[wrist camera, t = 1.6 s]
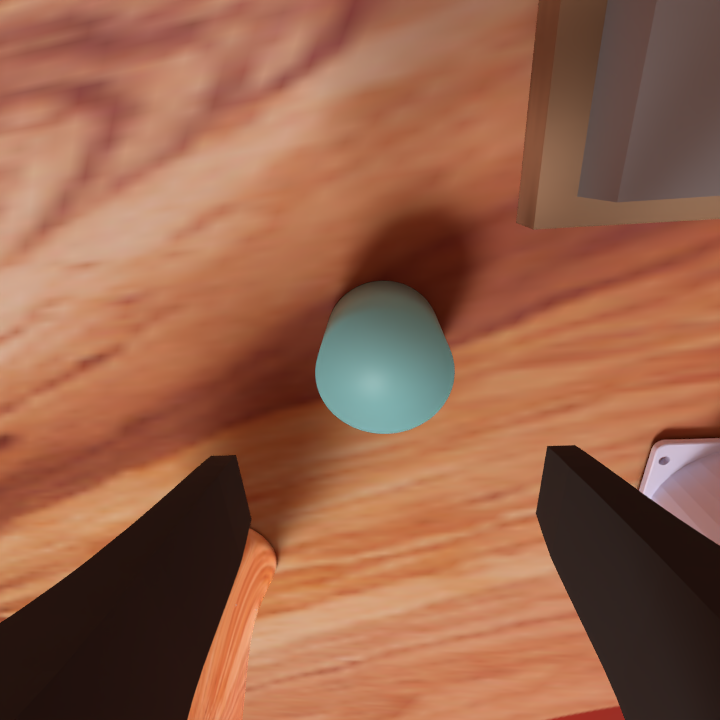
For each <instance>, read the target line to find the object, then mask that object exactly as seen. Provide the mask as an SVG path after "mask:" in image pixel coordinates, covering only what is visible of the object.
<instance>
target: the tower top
mask: <svg viewBox="0 0 720 720" xmlns="http://www.w3.org/2000/svg"><path fill="white" fill-rule="evenodd" d="M709 196H720V0H608V1H607V8H606V14H605V21H604V27H603V33H602V40H601V46H600V53H599V59H598V65H597V72H596V78H595V84H594V91H593V97H592V104H591V110H590V116H589V123H588V129H587V136H586V142H585V149H584V155H583V162H582V168H581V175H580V181H579V188H578V195H577V197H584V198H591V199H597V200H604V201H611V202H632V201H647V200H663V199H678V198H694V197H709Z"/></svg>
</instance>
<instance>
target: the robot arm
mask: <svg viewBox="0 0 720 720" xmlns="http://www.w3.org/2000/svg"><path fill="white" fill-rule="evenodd" d="M662 457H663V458H662ZM660 458H662V459H660ZM536 515H537V518H538V521H539V524H540V527H541V530H542V533H543V536H544V539H545V542H546V545H547V548H548V551H549V553H550V556H551V559H552V561H553V563H554V565H555V567H556V570H557V572H558V574H559V576H560V578H561V580H562V582H563V584H564V586H565V589H566V591H567V593H568V595H569V597H570V599H571V601H572V603H573V605H574V607H575V609H576V612H577V614H578V616H579V618H580V620H581V622H582V624H583V626H584V628H585V630H586V632H587V634H588V637H589V639H590V641H591V643H592V645H593V647H594V649H595V651H596V653H597V655H598V657H599V659H600V661H601V664H602V666H603V668H604V670H605V672H606V675H607V677H608V679H609V681H610V684H611V686H612V688H613V690H614V693H615V695H616V697H617V700H618V703H619V705H620V708H621V710H622V713H623V716H624V718H625V720H720V438H705V439H672V440H661V441H658V442H656V443H655V444H654V445H653V447H652V449H651V453H650V456H649V459H648V462H647V466H646V469H645V472H644V475H643V479H642V482H641V485H640V489H639V490H637V489H636V488H634V487H633V486H632V485H630V484H629V483H628V482H626V481H625V480H623V479H622V478H621V477H619V476H618V475H616V474H615V473H614V472H612V471H611V470H610V469H608V468H607V467H605V466H604V465H603V464H601V463H600V462H598V461H597V460H596V459H594V458H593V457H591V456H590V455H589V454H587V453H586V452H584V451H583V450H581V449H580V448H578V447H577V446H575V445H571V446H547V451H546V457H545V463H544V469H543V475H542V481H541V487H540V493H539V499H538V505H537V511H536ZM250 523H251V516H250V511H249V507H248V503H247V499H246V495H245V491H244V487H243V482H242V478H241V474H240V470H239V466H238V462H237V458H236V455H229V456H210V457H209V458H208V459H207V460H205V461H204V462H203V463H202V464H201V465H200V466H198V467H197V468H196V469H195V470H194V471H193V472H192V473H190V474H189V475H188V476H187V477H186V478H185V479H184V480H183V481H181V482H180V483H179V484H178V485H177V486H176V487H175V488H174V489H172V490H171V491H170V492H169V493H168V494H167V495H166V496H165V497H163V498H162V499H161V500H160V501H159V502H158V503H157V504H155V505H154V506H153V507H152V508H151V509H150V510H149V511H147V512H146V513H145V514H144V515H143V516H142V517H140V518H139V519H138V520H137V521H136V522H135V523H133V524H132V525H131V526H130V527H129V528H127V529H126V530H125V531H124V532H122V533H121V534H120V535H119V536H117V537H116V538H115V539H114V540H113V541H111V542H110V543H109V544H108V545H106V546H105V547H104V548H103V549H101V550H100V551H99V552H98V553H96V554H95V555H94V556H93V557H92V558H90V559H89V560H88V561H87V562H85V563H84V564H83V565H81V566H80V567H79V568H77V569H76V570H75V571H73V572H72V573H71V574H69V575H68V576H67V577H65V578H64V579H63V580H61V581H60V582H59V583H57V584H56V585H54V586H53V587H52V588H50V589H49V590H47V591H46V592H45V593H43V594H42V595H40V596H39V597H38V598H36V599H35V600H33V601H32V602H30V603H29V604H28V605H26V606H25V607H23V608H22V609H20V610H19V611H17V612H16V613H15V614H13V615H12V616H10V617H9V618H7V619H5V620H4V621H2V622H1V623H0V720H187V719H188V716H189V712H190V708H191V705H192V701H193V697H194V694H195V691H196V688H197V685H198V682H199V679H200V676H201V672H202V669H203V666H204V664H205V661H206V658H207V656H208V653H209V650H210V647H211V645H212V642H213V639H214V636H215V634H216V631H217V628H218V625H219V623H220V620H221V617H222V615H223V612H224V609H225V606H226V604H227V601H228V598H229V595H230V593H231V590H232V587H233V584H234V581H235V579H236V576H237V573H238V570H239V567H240V564H241V561H242V557H243V553H244V549H245V545H246V541H247V536H248V532H249V527H250Z"/></svg>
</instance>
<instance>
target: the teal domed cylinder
mask: <svg viewBox="0 0 720 720" xmlns="http://www.w3.org/2000/svg"><path fill="white" fill-rule="evenodd" d="M454 374H455V371H454V361H453V356H452V354H451V351H450V348H449V346H448V343H447V341H446V339H445V336H444V334H443V331H442V329H441V327H440V324H439V322H438V319H437V317H436V315H435V312H434V310H433V308H432V307H431V305H430V304H429V302H428V301H427V300H426V299H425V298H424V297H423V296H422V295H421V294H420V293H419V292H417V291H416V290H414V289H413V288H411V287H409V286H407V285H404V284H402V283H398V282H393V281H373V282H369V283H365V284H362V285H360V286H358V287H356V288H354V289H352V290H351V291H349V292H348V293H347V294H345V295H344V296H343V297H342V298H341V299H340V300H339V302H338V303H337V304H336V305H335V307H334V309H333V311H332V313H331V315H330V318H329V321H328V324H327V328H326V331H325V334H324V337H323V341H322V344H321V347H320V350H319V354H318V357H317V361H316V369H315V376H316V383H317V388H318V391H319V394H320V396H321V398H322V400H323V402H324V403H325V404H326V406H327V407H328V409H329V410H330V411H331V412H332V413H333V414H334V415H335V416H336V417H338V418H339V419H340V420H341V421H343V422H345V423H346V424H348V425H350V426H352V427H354V428H356V429H359V430H362V431H366V432H370V433H378V434H390V433H398V432H403V431H406V430H410V429H412V428H415V427H417V426H419V425H421V424H423V423H424V422H426V421H427V420H429V419H430V418H431V417H433V416H434V415H435V414H436V413H437V412H438V411H439V410H440V409H441V407H442V406H443V405H444V404H445V402H446V400H447V399H448V397H449V394H450V392H451V390H452V386H453V382H454Z"/></svg>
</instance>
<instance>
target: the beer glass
mask: <svg viewBox="0 0 720 720" xmlns="http://www.w3.org/2000/svg"><path fill="white" fill-rule="evenodd" d="M275 570H276V555H275V552H274V550H273V548H272V546H271V545H270V544H269V542H268V541H267V540H266V539H265V538H264V537H263V536H262V535H260V534H259V533H257V532H256V531H254V530H253V529H251V528H249V532H248V536H247V541H246V545H245V549H244V553H243V557H242V561H241V564H240V567H239V570H238V573H237V576H236V579H235V581H234V584H233V587H232V590H231V593H230V595H229V598H228V601H227V604H226V606H225V609H224V612H223V615H222V617H221V620H220V623H219V625H218V628H217V631H216V634H215V636H214V639H213V642H212V645H211V647H210V650H209V653H208V656H207V658H206V661H205V664H204V666H203V669H202V672H201V676H200V679H199V682H198V685H197V688H196V691H195V694H194V697H193V701H192V705H191V708H190V712H189V716H188V719H187V720H242V716H243V707H244V698H245V687H246V677H247V667H248V658H249V650H250V642H251V637H252V632H253V628H254V623H255V620H256V617H257V613H258V610H259V608H260V605H261V603H262V601H263V598H264V596H265V594H266V592H267V590H268V588H269V585H270V583H271V581H272V579H273V576H274V574H275Z"/></svg>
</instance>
